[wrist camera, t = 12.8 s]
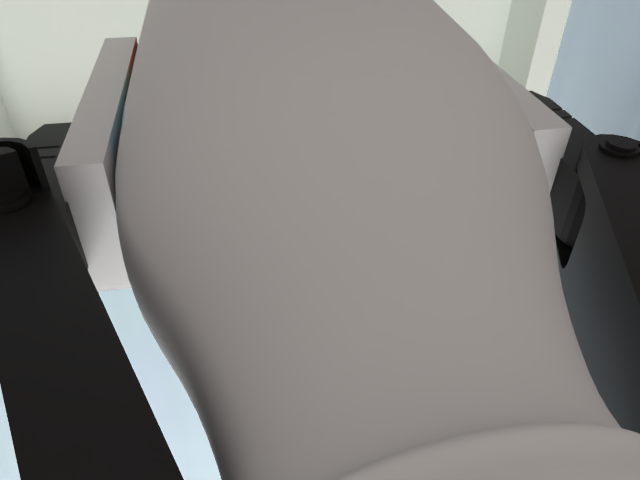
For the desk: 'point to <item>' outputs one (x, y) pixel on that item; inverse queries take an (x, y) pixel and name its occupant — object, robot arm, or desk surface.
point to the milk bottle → (352, 248)
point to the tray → (127, 20)
